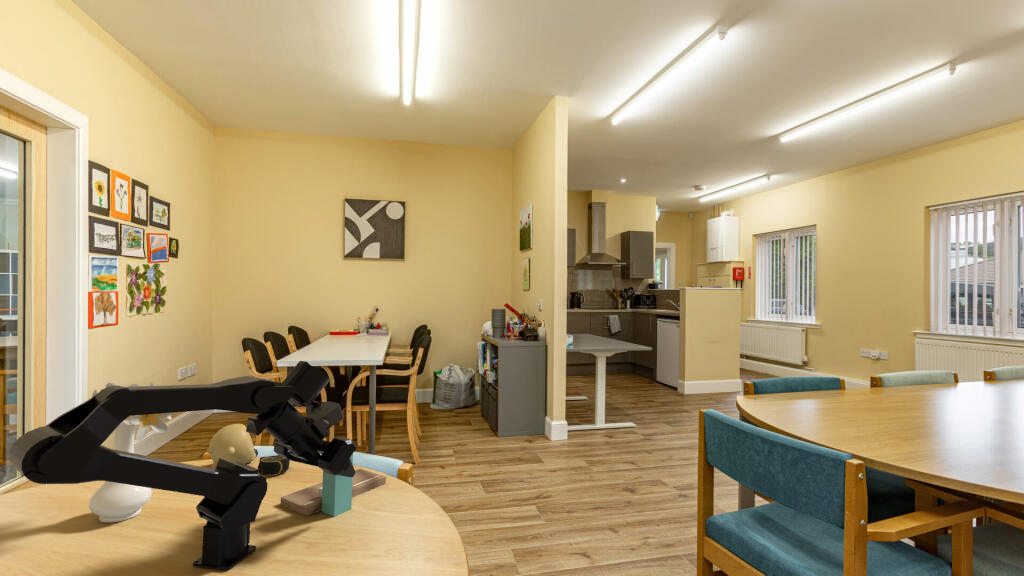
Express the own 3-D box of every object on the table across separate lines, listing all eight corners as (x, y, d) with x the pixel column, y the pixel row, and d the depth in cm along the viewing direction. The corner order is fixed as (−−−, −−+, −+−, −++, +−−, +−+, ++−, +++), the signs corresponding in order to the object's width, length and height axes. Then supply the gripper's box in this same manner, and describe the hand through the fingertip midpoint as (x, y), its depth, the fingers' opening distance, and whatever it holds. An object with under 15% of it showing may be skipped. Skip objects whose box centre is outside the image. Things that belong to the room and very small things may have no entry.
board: (306, 516, 89) (306, 508, 89) (280, 504, 94) (280, 496, 94) (385, 483, 106) (385, 476, 106) (360, 474, 110) (360, 468, 111)
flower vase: (126, 538, 79) (133, 394, 80) (49, 524, 84) (57, 387, 85) (194, 506, 92) (200, 382, 93) (124, 495, 96) (130, 377, 97)
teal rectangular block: (334, 516, 89) (336, 449, 89) (312, 507, 93) (314, 443, 93) (351, 509, 92) (353, 444, 93) (329, 500, 96) (331, 438, 96)
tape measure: (289, 466, 115) (290, 452, 116) (288, 476, 109) (288, 460, 109) (259, 470, 113) (259, 455, 113) (255, 480, 106) (256, 464, 107)
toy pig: (250, 481, 114) (272, 443, 122) (231, 456, 107) (255, 417, 115) (214, 478, 115) (237, 440, 123) (192, 452, 107) (218, 414, 116)
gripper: (349, 396, 83) (393, 443, 92) (290, 385, 93) (335, 428, 102) (308, 451, 76) (360, 495, 85) (249, 432, 86) (301, 474, 95)
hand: (338, 470), depth 92 cm, fingers open, 9 cm apart
